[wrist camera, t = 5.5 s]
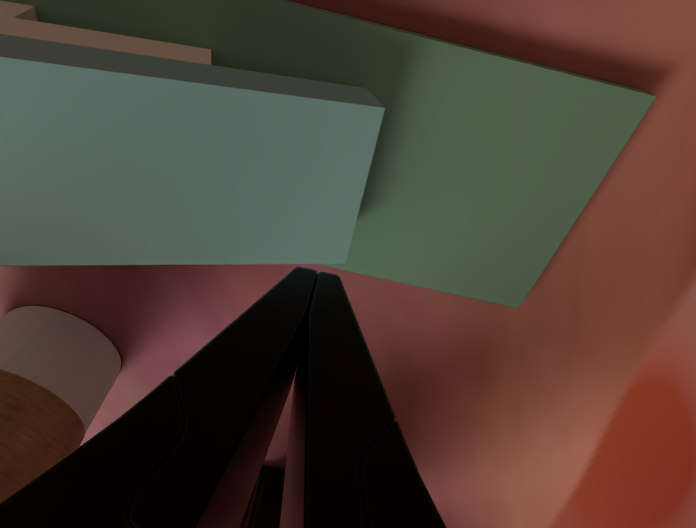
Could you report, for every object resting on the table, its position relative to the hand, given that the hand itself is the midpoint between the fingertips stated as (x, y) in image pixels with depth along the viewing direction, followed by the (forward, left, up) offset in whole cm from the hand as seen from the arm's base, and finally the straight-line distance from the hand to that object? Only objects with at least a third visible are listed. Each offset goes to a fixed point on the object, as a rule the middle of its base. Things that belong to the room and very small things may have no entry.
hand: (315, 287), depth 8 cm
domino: (0, 0, -5) cm, 5 cm away
